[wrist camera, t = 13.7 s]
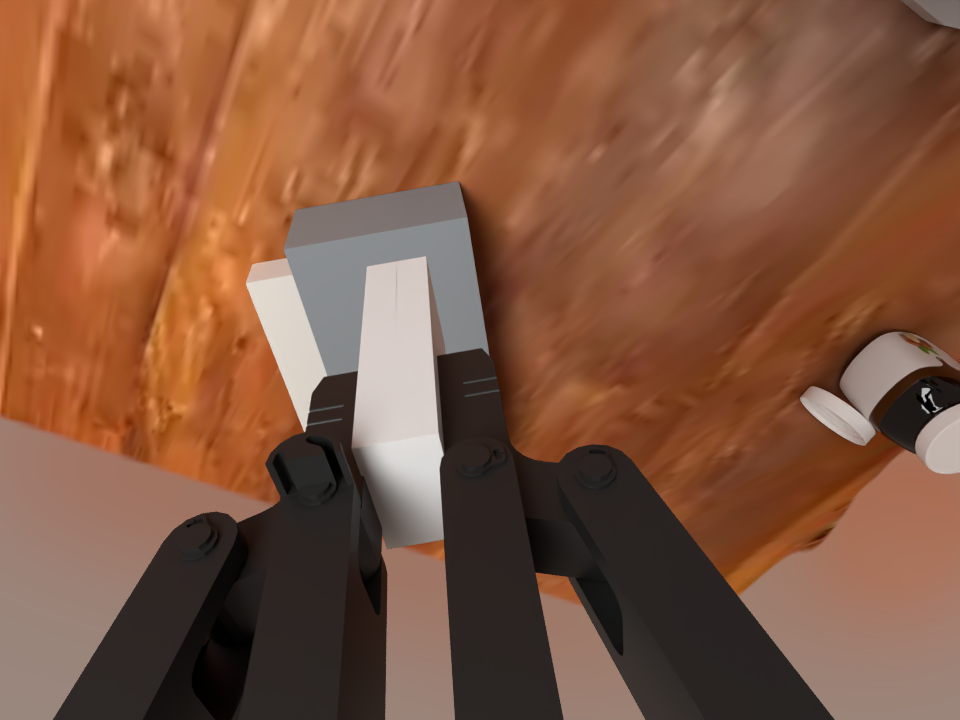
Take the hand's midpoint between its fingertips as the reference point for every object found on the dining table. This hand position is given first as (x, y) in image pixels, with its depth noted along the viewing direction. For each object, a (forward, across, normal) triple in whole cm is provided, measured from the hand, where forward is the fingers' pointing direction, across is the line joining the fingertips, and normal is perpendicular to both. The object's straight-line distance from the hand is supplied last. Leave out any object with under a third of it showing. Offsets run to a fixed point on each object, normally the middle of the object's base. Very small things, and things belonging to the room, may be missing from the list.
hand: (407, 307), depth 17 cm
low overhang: (+32, -4, -21) cm, 38 cm away
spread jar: (+32, +37, -35) cm, 60 cm away
